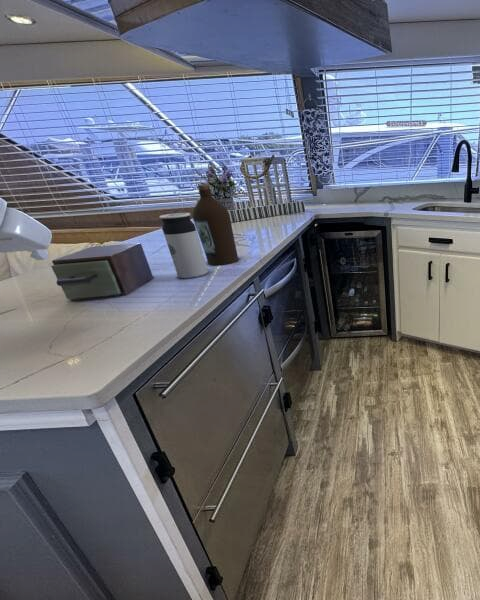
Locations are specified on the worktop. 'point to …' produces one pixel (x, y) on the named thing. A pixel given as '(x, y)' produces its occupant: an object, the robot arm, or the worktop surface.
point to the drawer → (86, 279)
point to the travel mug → (184, 245)
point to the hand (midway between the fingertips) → (15, 258)
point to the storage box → (117, 264)
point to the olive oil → (214, 229)
